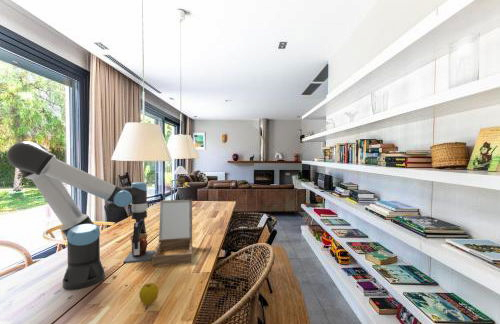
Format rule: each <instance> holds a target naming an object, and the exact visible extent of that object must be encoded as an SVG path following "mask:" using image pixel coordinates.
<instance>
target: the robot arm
mask: <svg viewBox="0 0 500 324" xmlns="http://www.w3.org/2000/svg"><path fill="white" fill-rule="evenodd" d="M6 158H7V161H8V162H9V164H10V165H11V166H12V167H14V168H16V169H18V170H19V171H20V174H22V176H23V177H24V178H25V179H26V180H27V179H28V180H31V181H32V183H34V185H35V187H36V188H37V190H38V191H39V192H40V194H41V196H42V197H43V199H44V200H45V201H46V203H47V204H48V206H49V207H50V208H51V210H52V212H53V213H54V215H55V216H56V218H58V220H59V222H60V223H61V224H62V226H61V229H60V230H61V232H62V233H63V235H64V237H65V238H66V241H67V267H66V270H65V273H64V275H63V278H62V287H63V288H64V289H66V290H78V289H79V290H80V289H84V288H88V287H91V286H94V285H97V284H98V283H99V282H101V281H102V280H103V279H104V278H105V268H104V266H103V264H102V262H101V257H100V255H101V252H100V250H101V249H100V247H101V246H100V245H101V244H100V243H101V242H100V241H101V240H100V235H101V230H100V227H99V226H98V225H97V224H95V223H94V222H93V221H92V219H91V218H90V216H89V215H88V214H85V213H82V211H81V210H80V208H79V207H78V205H77V204H76V203H77V202H75V200H74V198H73V197H72V195H71V194H70V193H69V191H68V190H67V188H66V186H65V185H64V184H66V185H69V186H71V187H73V188H76V189H78V190H81V191H83V192H85V193H88V194H90V195H93V196H95V197H97V198H100V199H103V200H104V201H105V202H106V203H108V204H110V203H112V204H114V205H116V206H117V207H120V208H123V207H124V208H125V207H127V206H129V205H130V204H131V219H132V220H135V222H134V223H133V233H132V235H133V241H132V242H131V244H132V243H134V255H139V254H140V242H139V238H140V234H147V231H146V222H145V219H146V218H147V217H148V211H147V209H148V208H147V207H148V206H149V204H148V203H147V202H148V201H147V199H148V193H147V192H148V188H147V183H146V182H143V181H140V182H139V181H137V182H132V183H131V185H130V186H121V187H119V186H117V185H116V184H113V183H111V182H108V181H106V180H104V179H103V178H100V177H98V176H95V175H93V174H90V173H88V172H86V171H84V170H82V169H80V168H77V167H75V166H73V165H71V164H69V163H67V162H64V161H62V160H61V159H57V157H56V155H55V154H53V153H51V152H49V151H48V150H47V148H45V146H44V145H43V146H42V145H41V144H39V143H37V142H36V143H35V142H32V141H20V142H17V143H14V144H13V145H11V146H10V147H9V148H8V151H7V153H6Z"/></svg>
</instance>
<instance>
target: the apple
mask: <svg viewBox="0 0 500 324" xmlns="http://www.w3.org/2000/svg"><path fill="white" fill-rule="evenodd" d="M159 291H160V290H159V287H158V284H157V283H154V282H153V283H151V282H150V283H144V284H143V286H141V288H140V290H139V294H138V295H139V297H138V298H139V300H140V301H141V303H142V305H144V306H151V305H152V304H154V303H155V302H156V301H157V298H158V296H159Z"/></svg>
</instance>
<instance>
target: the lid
mask: <svg viewBox="0 0 500 324" xmlns="http://www.w3.org/2000/svg"><path fill="white" fill-rule="evenodd" d="M159 204H160V205H159V206H160V207H159V227H158V228H159V229H158V230H159V232H158V233H159V234H158V241H159V240H165V239H179V238H192V239H193V199H176V200H175V199H173V200H172V199H171V200H168V199H167V200H160V203H159Z"/></svg>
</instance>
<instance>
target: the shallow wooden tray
mask: <svg viewBox="0 0 500 324" xmlns="http://www.w3.org/2000/svg"><path fill="white" fill-rule="evenodd" d="M188 248H189V250H188V252H186V253H176V254H175V253H174V254H173V253H172V254H163V255H160V253H161V251H162V250H163V251H164V250H175V249H188ZM192 257H193V237H192V238H179V239H165V240H159V239H158V243H157V245H156V247H155V252H154V254H153V256H152V258H151V267H156V266H157V267H158V266H167V265H178V264H188V263H192V261H193V258H192Z"/></svg>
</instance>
